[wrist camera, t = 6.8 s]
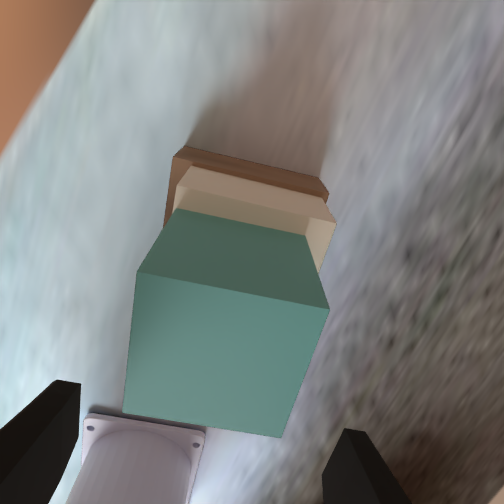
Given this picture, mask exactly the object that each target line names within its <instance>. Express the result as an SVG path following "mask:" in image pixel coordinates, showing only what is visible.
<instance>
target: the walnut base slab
mask: <svg viewBox="0 0 504 504" xmlns="http://www.w3.org/2000/svg"><path fill="white" fill-rule="evenodd" d="M190 166H195V167H199V168H203V169H207V170H211V171H215V172H220V173H224V174H228V175H232V176H236V177H240V178H244V179H248V180H252V181H256V182H260V183H264V184H268V185H272V186H276V187H280V188H284V189H288V190H292V191H297V192H301V193H305V194H309V195H313V196H317V197H321V198H322V199H323V200H324V202H325V204H326V202H327V199H328V196H329V192H328V191H327V189H326V188H325V186H324V185H323V183H322V182H321V180H320V179H319V178H317V177H313V176H309V175H305V174H300V173H296V172H292V171H288V170H284V169H279V168H275V167H271V166H267V165H262V164H258V163H254V162H250V161H245V160H241V159H237V158H233V157H229V156H224V155H220V154H216V153H212V152H207V151H203V150H199V149H195V148H191V147H186V146H184V147H183V148H182V149H181V150H180V151H178V152H177V153H176V154H175V155H174V156H173V160H172V167H171V174H170V181H169V188H168V196H167V203H166V210H165V217H164V224H163V228H164V227H165V225H166V223H167V222H168V220H169V218H170V217H171V215H172V211H173V205H174V199H175V193H176V187H177V184H178V183H179V181H180V180H181V179H182V177H183V176H184V175H185V173H186V172H187V170H188V169H189V168H190Z"/></svg>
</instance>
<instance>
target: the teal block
mask: <svg viewBox="0 0 504 504" xmlns="http://www.w3.org/2000/svg"><path fill="white" fill-rule="evenodd" d="M329 311H330V308H329V305H328V302H327V299H326V296H325V293H324V290H323V287H322V284H321V281H320V278H319V275H318V272H317V269H316V266H315V263H314V260H313V257H312V254H311V251H310V248H309V245H308V242H307V239H306V236H305V235H300V234H296V233H291V232H286V231H282V230H277V229H272V228H268V227H263V226H258V225H254V224H249V223H244V222H240V221H235V220H230V219H226V218H221V217H217V216H212V215H207V214H203V213H198V212H193V211H189V210H184V209H179V208H176V209H175V210H174V212H173V214H172V215H171V217H170V218H169V220H168V222H167V223H166V225H165V227H164V228H163V230H162V231H161V233H160V235H159V236H158V238H157V240H156V241H155V243H154V244H153V246H152V248H151V249H150V251H149V253H148V254H147V256H146V258H145V259H144V261H143V262H142V264H141V266H140V267H139V269H138V271H137V275H136V284H135V294H134V303H133V313H132V323H131V332H130V342H129V351H128V361H127V370H126V380H125V389H124V399H123V408H122V413H128V414H134V415H140V416H146V417H152V418H159V419H165V420H171V421H177V422H183V423H189V424H196V425H202V426H208V427H214V428H220V429H227V430H233V431H239V432H245V433H251V434H257V435H264V436H270V437H276V438H281V437H282V434H283V431H284V429H285V426H286V424H287V421H288V418H289V416H290V413H291V410H292V408H293V405H294V403H295V400H296V397H297V395H298V392H299V390H300V387H301V384H302V382H303V379H304V376H305V374H306V371H307V369H308V366H309V363H310V361H311V358H312V356H313V353H314V350H315V348H316V345H317V342H318V340H319V337H320V335H321V332H322V329H323V327H324V324H325V322H326V319H327V316H328V314H329Z"/></svg>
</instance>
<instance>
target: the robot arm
mask: <svg viewBox="0 0 504 504" xmlns="http://www.w3.org/2000/svg"><path fill="white" fill-rule="evenodd" d="M80 395H81V384H80V383H74V382H68V381H62V380H56V381H54V382H52V383H51V384H50V385H49V386H48V387H47V388H46V389H45V390H44V391H43V392H42V393H40V394H39V395H38V396H37V397H36V398H35V399H34V400H33V401H32V402H31V403H30V404H28V405H27V406H26V407H25V408H24V409H23V410H22V411H21V412H19V413H18V414H17V415H16V416H15V417H14V418H13V419H12V420H10V421H9V422H8V423H7V424H6V425H5V426H4V427H2V428H1V429H0V504H48V503H49V501H50V499H51V497H52V496H53V494H54V492H55V490H56V488H57V486H58V484H59V482H60V480H61V478H62V476H63V473H64V471H65V469H66V466H67V464H68V462H69V459H70V457H71V454H72V452H73V449H74V447H75V444H76V442H77V440H78V437H79V416H80ZM204 442H205V434H204V433H203V432H202V431H199V430H193V429H187V428H181V427H175V426H168V425H162V424H156V423H150V422H144V421H138V420H132V419H126V418H120V417H114V416H108V415H101V414H95V413H90V414H87V415H86V417H85V419H84V421H83V439H82V457H81V469H80V472H79V474H78V476H77V478H76V481H75V483H74V485H73V487H72V490H71V492H70V494H69V496H68V499H67V501H66V503H65V504H188V502H189V498H190V495H191V491H192V487H193V483H194V480H195V476H196V472H197V468H198V465H199V461H200V457H201V453H202V449H203V446H204ZM322 486H323V500H324V504H412V503H411V502H410V500H409V499H408V497H407V496H406V494H405V493H404V491H403V490H402V488H401V487H400V485H399V483H398V482H397V480H396V479H395V477H394V476H393V474H392V473H391V471H390V470H389V468H388V466H387V465H386V463H385V462H384V460H383V459H382V457H381V455H380V454H379V452H378V451H377V449H376V448H375V446H374V445H373V443H372V441H371V440H370V438H369V437H368V435H367V434H366V432H364V431H358V430H352V429H346V428H344V430H343V432H342V434H341V436H340V438H339V440H338V443H337V445H336V447H335V449H334V451H333V453H332V455H331V457H330V459H329V461H328V463H327V465H326V467H325V469H324V471H323V473H322Z"/></svg>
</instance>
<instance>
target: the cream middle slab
mask: <svg viewBox="0 0 504 504" xmlns="http://www.w3.org/2000/svg"><path fill="white" fill-rule="evenodd" d="M176 208H179V209H184V210H189V211H193V212H198V213H203V214H207V215H212V216H217V217H221V218H226V219H230V220H235V221H240V222H244V223H249V224H254V225H258V226H263V227H268V228H272V229H277V230H282V231H286V232H291V233H296V234H300V235H305V236H306V239H307V242H308V245H309V248H310V251H311V254H312V257H313V260H314V263H315V266H316V269H317V272H318V273H319V270H320V268H321V265H322V262H323V260H324V257H325V254H326V251H327V249H328V246H329V243H330V241H331V238H332V235H333V233H334V230H335V227H336V225H337V223H336V221H335V219H334V218H333V216H332V214H331V213H330V211H329V209H328V207H327V206H326V204H325V202H324V200H323V199H322V198H321V197H317V196H313V195H309V194H305V193H301V192H297V191H292V190H288V189H284V188H280V187H276V186H272V185H268V184H264V183H260V182H256V181H252V180H248V179H244V178H240V177H236V176H232V175H228V174H224V173H220V172H215V171H211V170H207V169H203V168H199V167H195V166H190V168H189V169H188V170H187V172H186V173H185V175H184V176H183V177H182V179H181V180H180V181H179V183H178V184H177V187H176V193H175V199H174V205H173V211H172V214H173V212H174V210H175V209H176Z"/></svg>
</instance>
